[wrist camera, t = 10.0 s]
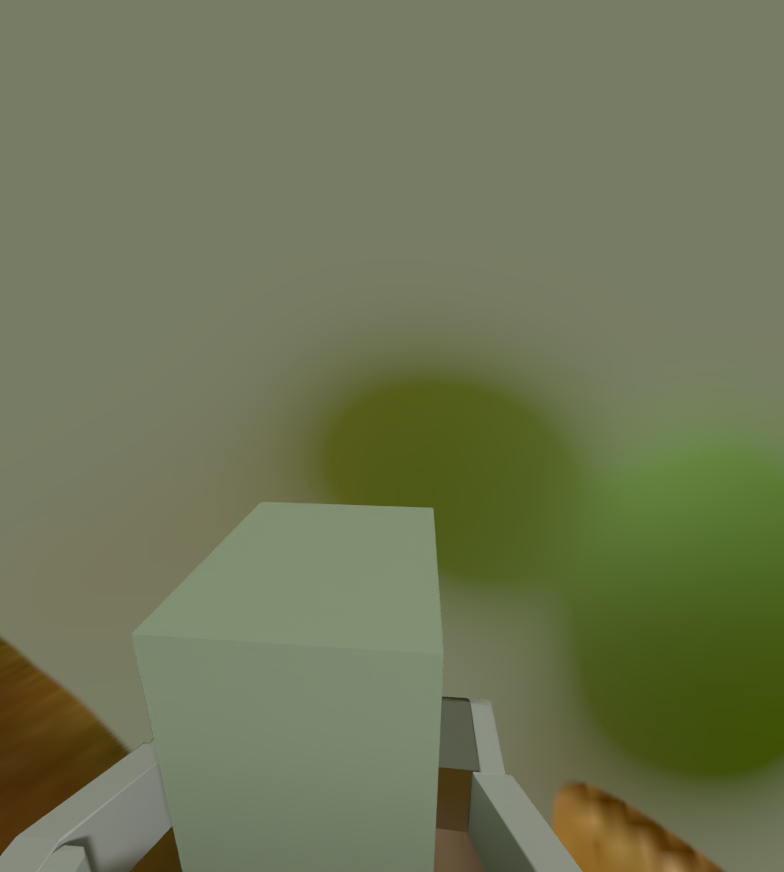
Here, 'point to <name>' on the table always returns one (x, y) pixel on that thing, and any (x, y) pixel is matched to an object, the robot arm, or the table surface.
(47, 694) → the table surface
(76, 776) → the table surface
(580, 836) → the table surface
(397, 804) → the pillar
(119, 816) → the robot arm
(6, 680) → the table surface
